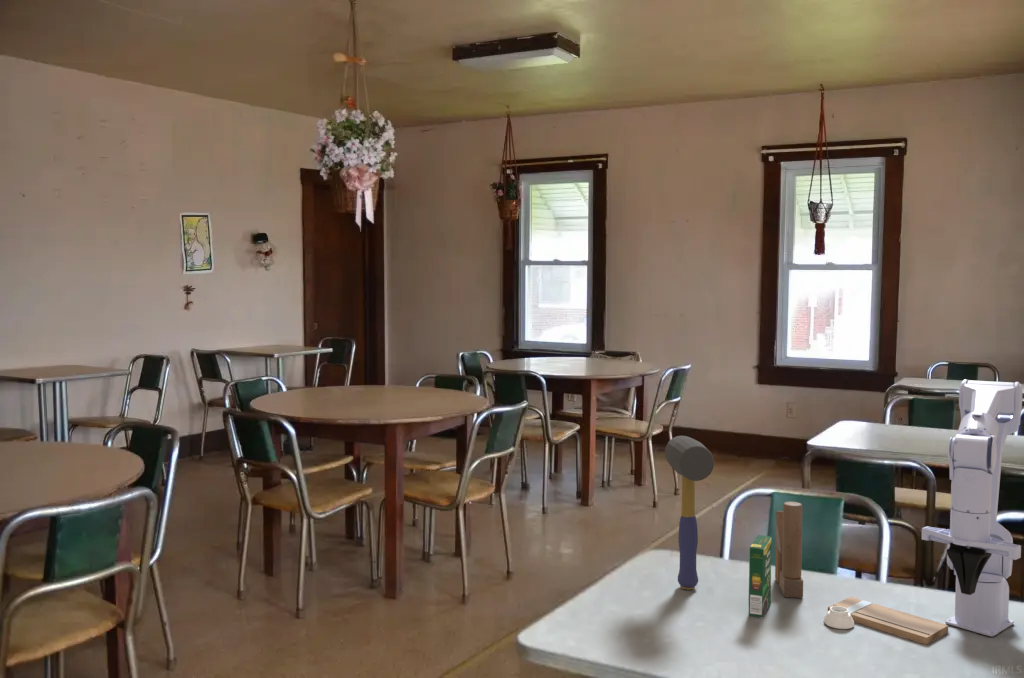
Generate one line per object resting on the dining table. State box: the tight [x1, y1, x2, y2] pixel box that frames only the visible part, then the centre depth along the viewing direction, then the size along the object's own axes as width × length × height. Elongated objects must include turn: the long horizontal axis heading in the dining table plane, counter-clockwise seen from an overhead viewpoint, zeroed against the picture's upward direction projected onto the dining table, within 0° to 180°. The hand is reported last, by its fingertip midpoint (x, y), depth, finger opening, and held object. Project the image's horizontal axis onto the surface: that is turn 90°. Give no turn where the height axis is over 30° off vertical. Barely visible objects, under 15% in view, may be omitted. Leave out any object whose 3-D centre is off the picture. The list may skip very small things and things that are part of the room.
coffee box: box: [748, 534, 773, 619], centre depth 160 cm, size 8×3×13 cm, turn 153°
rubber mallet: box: [664, 435, 715, 591], centre depth 171 cm, size 12×8×30 cm, turn 4°
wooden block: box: [774, 501, 804, 599], centre depth 171 cm, size 4×11×18 cm, turn 172°
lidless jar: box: [823, 606, 855, 630], centre depth 154 cm, size 5×3×5 cm
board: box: [827, 596, 949, 645], centre depth 154 cm, size 8×18×1 cm, turn 40°
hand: (967, 592), depth 140 cm, fingers closed
